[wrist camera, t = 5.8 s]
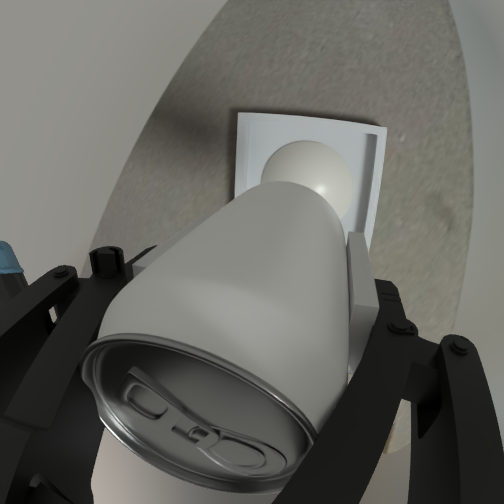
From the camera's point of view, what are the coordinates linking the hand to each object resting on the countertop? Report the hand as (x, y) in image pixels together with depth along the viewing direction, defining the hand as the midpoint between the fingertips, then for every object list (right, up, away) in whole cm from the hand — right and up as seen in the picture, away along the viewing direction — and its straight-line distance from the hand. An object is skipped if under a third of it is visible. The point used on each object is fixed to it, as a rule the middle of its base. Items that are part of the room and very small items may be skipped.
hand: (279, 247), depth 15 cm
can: (0, 0, +1) cm, 1 cm away
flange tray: (+4, +6, +15) cm, 16 cm away
